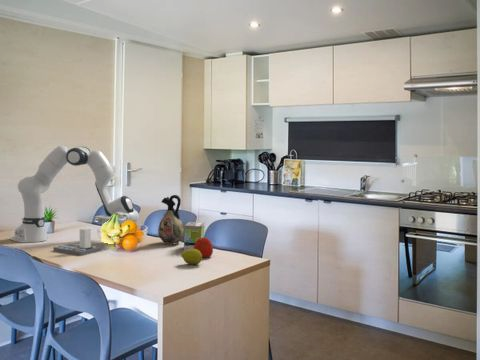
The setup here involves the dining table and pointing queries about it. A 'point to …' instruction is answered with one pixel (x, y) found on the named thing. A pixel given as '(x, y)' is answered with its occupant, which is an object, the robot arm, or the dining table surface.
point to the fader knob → (85, 238)
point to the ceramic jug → (171, 222)
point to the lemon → (192, 256)
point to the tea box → (192, 234)
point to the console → (76, 249)
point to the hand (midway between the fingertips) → (100, 221)
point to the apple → (204, 247)
